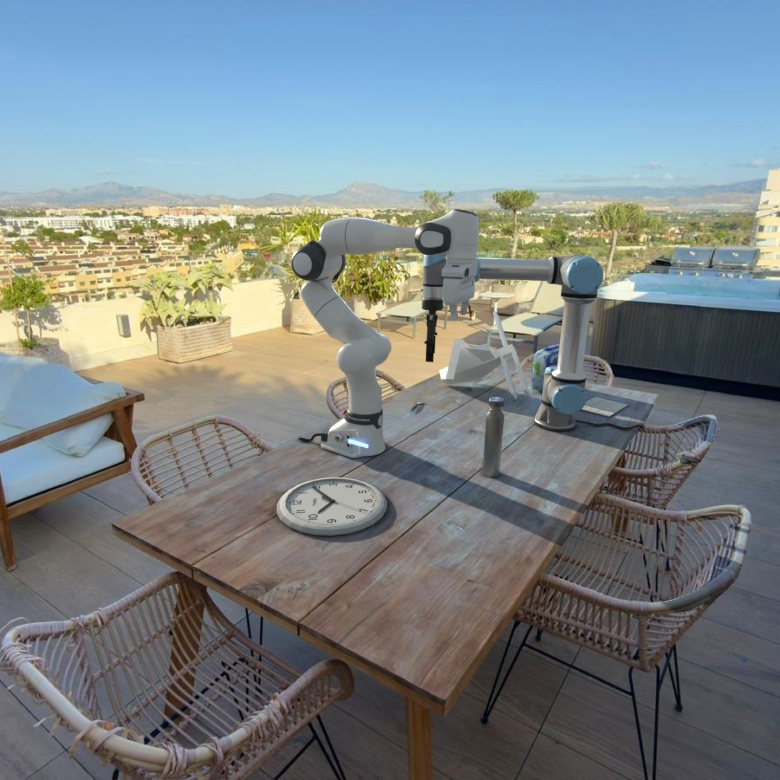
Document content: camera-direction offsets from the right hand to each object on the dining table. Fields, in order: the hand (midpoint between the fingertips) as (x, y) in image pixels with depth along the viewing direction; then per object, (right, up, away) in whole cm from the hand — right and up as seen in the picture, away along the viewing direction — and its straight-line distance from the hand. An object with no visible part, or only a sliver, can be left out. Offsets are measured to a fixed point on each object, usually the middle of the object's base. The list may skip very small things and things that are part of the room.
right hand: (430, 357), depth 190 cm
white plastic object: (+27, -13, +54) cm, 61 cm away
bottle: (+17, -38, -26) cm, 49 cm away
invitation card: (+77, -19, +37) cm, 87 cm away
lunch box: (+63, -12, +60) cm, 88 cm away
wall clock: (-30, -43, -47) cm, 71 cm away
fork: (-3, -19, +33) cm, 38 cm away
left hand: (+6, +10, -36) cm, 37 cm away
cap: (+17, -15, -33) cm, 41 cm away
